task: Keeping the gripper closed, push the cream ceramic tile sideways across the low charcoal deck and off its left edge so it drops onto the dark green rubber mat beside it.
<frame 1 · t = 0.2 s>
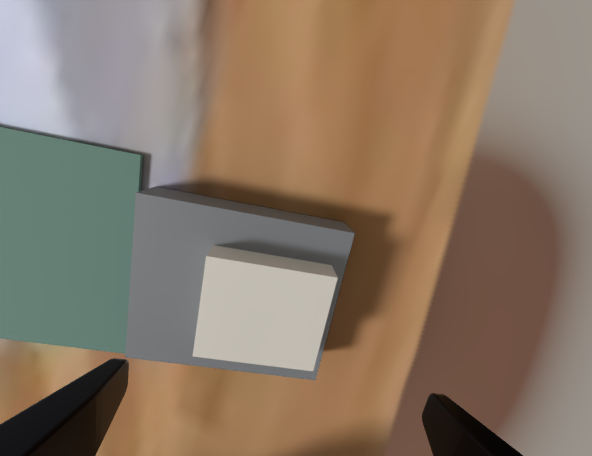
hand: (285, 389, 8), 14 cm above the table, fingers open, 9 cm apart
deck: (241, 278, 22), on the table
tile: (264, 301, 20), point 3 cm above the table, touching deck
mat: (36, 245, 21), on the table
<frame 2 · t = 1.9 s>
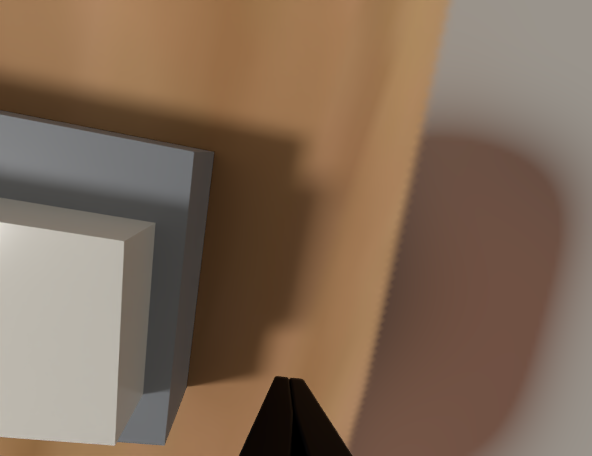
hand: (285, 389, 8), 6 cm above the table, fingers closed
deck: (36, 259, 12), on the table
tile: (28, 300, 10), point 3 cm above the table, touching deck
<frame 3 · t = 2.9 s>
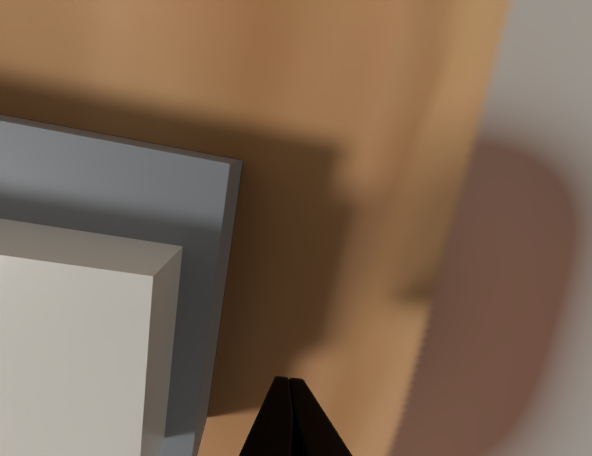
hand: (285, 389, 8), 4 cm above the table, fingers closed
deck: (41, 281, 11), on the table
tile: (33, 335, 8), point 3 cm above the table, touching deck
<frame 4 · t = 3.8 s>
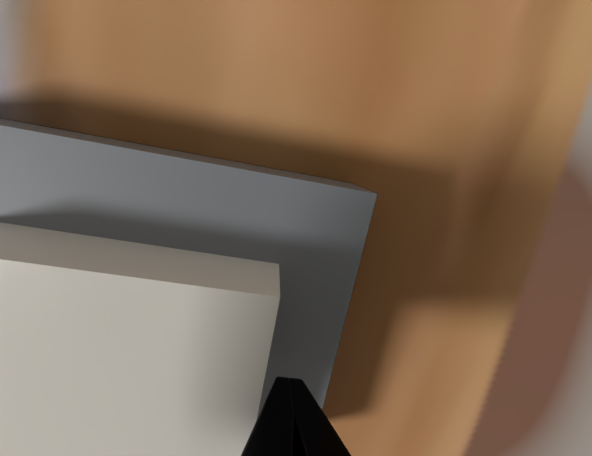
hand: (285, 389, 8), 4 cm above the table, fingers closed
deck: (152, 298, 12), on the table
tile: (132, 349, 9), point 3 cm above the table, touching deck, gripper
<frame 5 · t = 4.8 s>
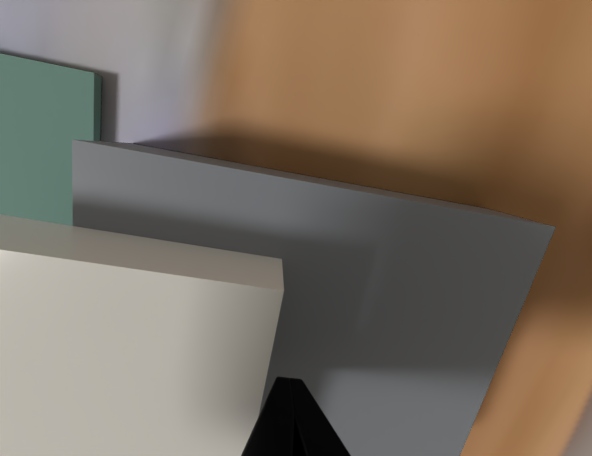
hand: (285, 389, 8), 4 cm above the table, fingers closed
deck: (293, 315, 12), on the table
tile: (134, 343, 9), point 3 cm above the table, touching gripper
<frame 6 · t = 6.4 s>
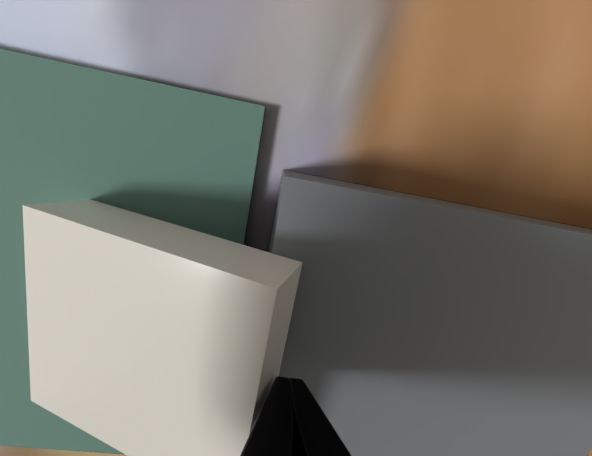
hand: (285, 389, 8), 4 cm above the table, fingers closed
deck: (410, 331, 13), on the table
tile: (175, 322, 10), point 2 cm above the table, tilted 22°, touching deck, gripper, mat
mat: (55, 283, 11), on the table
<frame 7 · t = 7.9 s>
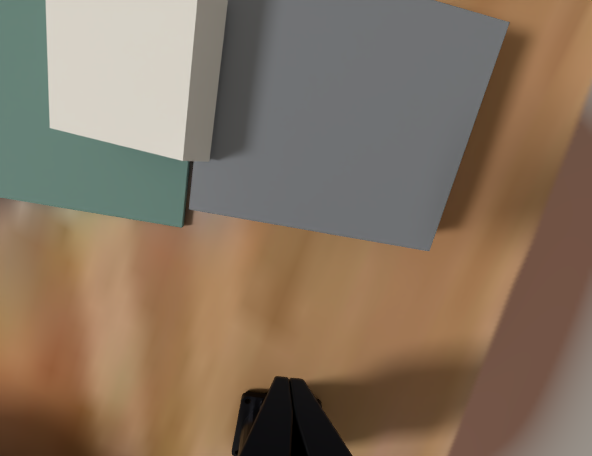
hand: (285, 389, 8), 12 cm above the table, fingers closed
deck: (330, 124, 17), on the table
tile: (149, 75, 14), point 2 cm above the table, tilted 22°, touching deck, mat
mat: (65, 65, 16), on the table
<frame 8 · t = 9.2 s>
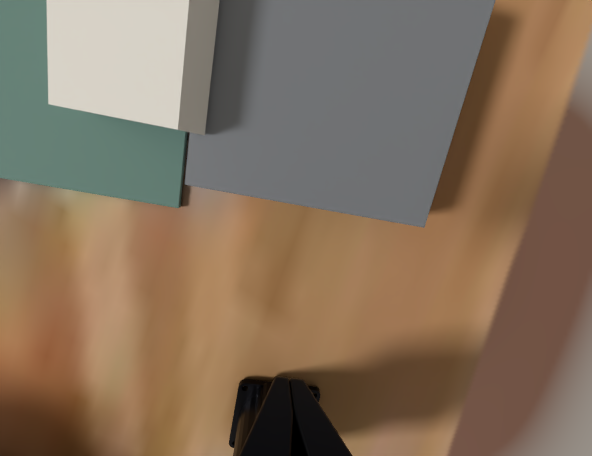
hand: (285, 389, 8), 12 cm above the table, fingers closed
deck: (324, 104, 18), on the table
tile: (146, 52, 15), point 2 cm above the table, tilted 22°, touching deck, mat
mat: (65, 46, 16), on the table
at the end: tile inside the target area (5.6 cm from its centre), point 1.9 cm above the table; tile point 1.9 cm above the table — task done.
